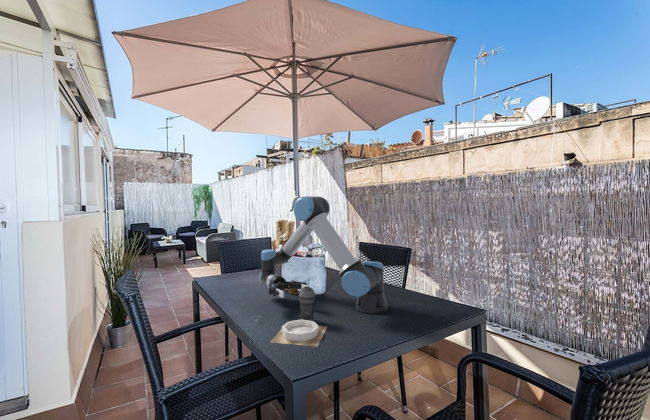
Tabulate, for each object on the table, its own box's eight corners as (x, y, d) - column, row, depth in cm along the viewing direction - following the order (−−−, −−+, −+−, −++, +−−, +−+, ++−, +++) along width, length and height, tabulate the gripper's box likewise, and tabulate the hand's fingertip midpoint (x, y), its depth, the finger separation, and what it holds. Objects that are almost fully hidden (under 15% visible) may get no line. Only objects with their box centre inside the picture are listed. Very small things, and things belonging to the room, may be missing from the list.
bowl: (322, 329, 125) (322, 322, 124) (308, 344, 112) (308, 336, 112) (292, 325, 130) (292, 318, 129) (276, 338, 117) (276, 330, 117)
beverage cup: (306, 318, 139) (306, 274, 139) (319, 321, 134) (318, 276, 134) (295, 323, 133) (294, 277, 133) (307, 327, 129) (307, 279, 128)
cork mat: (327, 328, 128) (327, 326, 128) (317, 348, 110) (317, 346, 110) (285, 324, 131) (285, 323, 131) (270, 343, 114) (270, 342, 114)
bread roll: (297, 301, 174) (303, 289, 173) (282, 292, 176) (287, 280, 175) (302, 296, 184) (308, 284, 183) (287, 288, 186) (293, 276, 185)
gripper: (297, 286, 166) (319, 295, 149) (253, 294, 152) (271, 305, 134) (297, 272, 166) (319, 280, 148) (253, 278, 152) (271, 288, 134)
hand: (296, 292), depth 141 cm, fingers open, 13 cm apart
